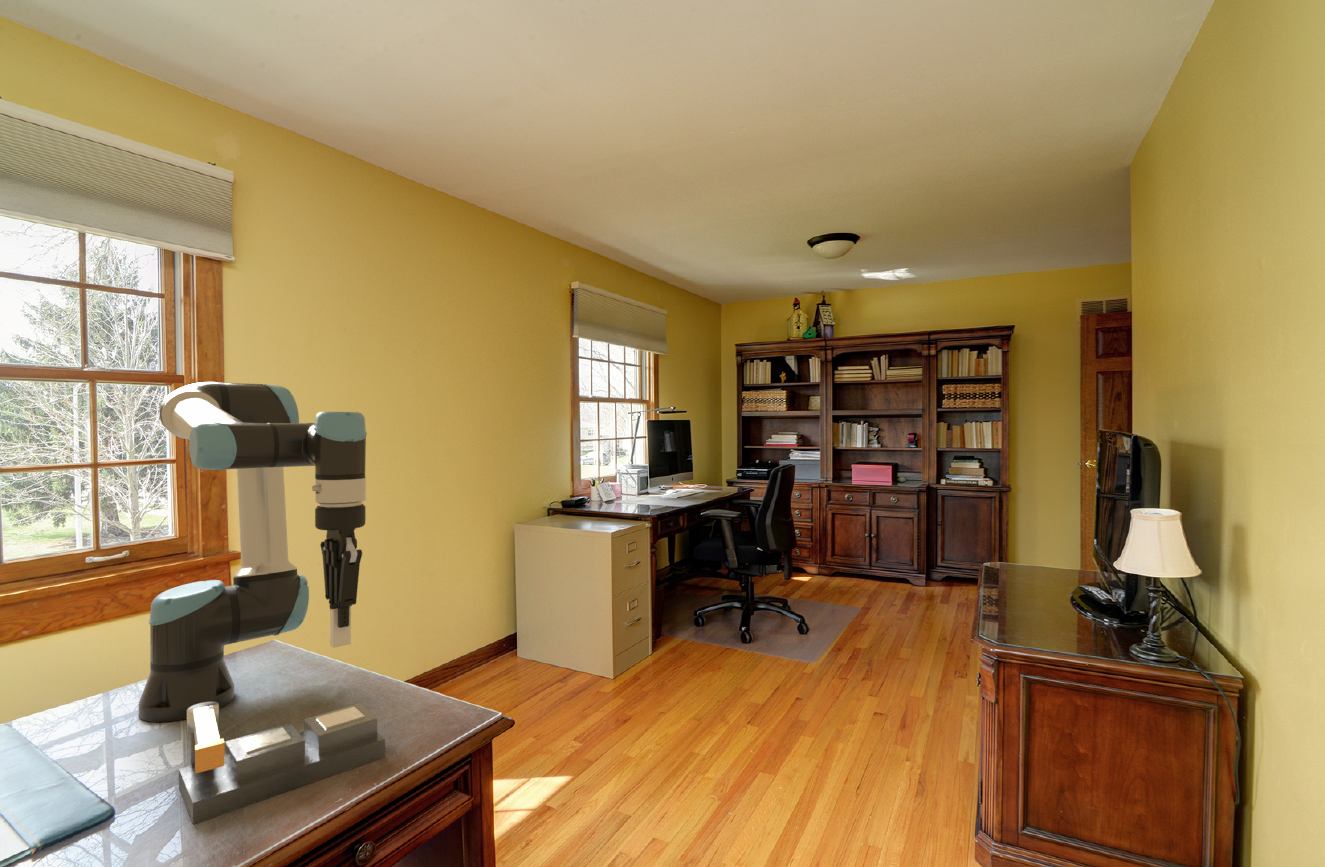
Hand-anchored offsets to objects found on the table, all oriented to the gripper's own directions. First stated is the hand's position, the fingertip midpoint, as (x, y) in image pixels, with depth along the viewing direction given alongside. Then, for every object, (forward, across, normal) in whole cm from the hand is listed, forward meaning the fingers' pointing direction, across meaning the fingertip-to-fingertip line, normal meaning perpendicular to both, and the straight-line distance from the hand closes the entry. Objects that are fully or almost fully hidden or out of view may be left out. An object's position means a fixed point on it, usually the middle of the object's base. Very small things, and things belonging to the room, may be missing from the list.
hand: (340, 644), depth 107 cm
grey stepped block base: (+18, 0, -8) cm, 20 cm away
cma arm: (+10, +1, -19) cm, 21 cm away
